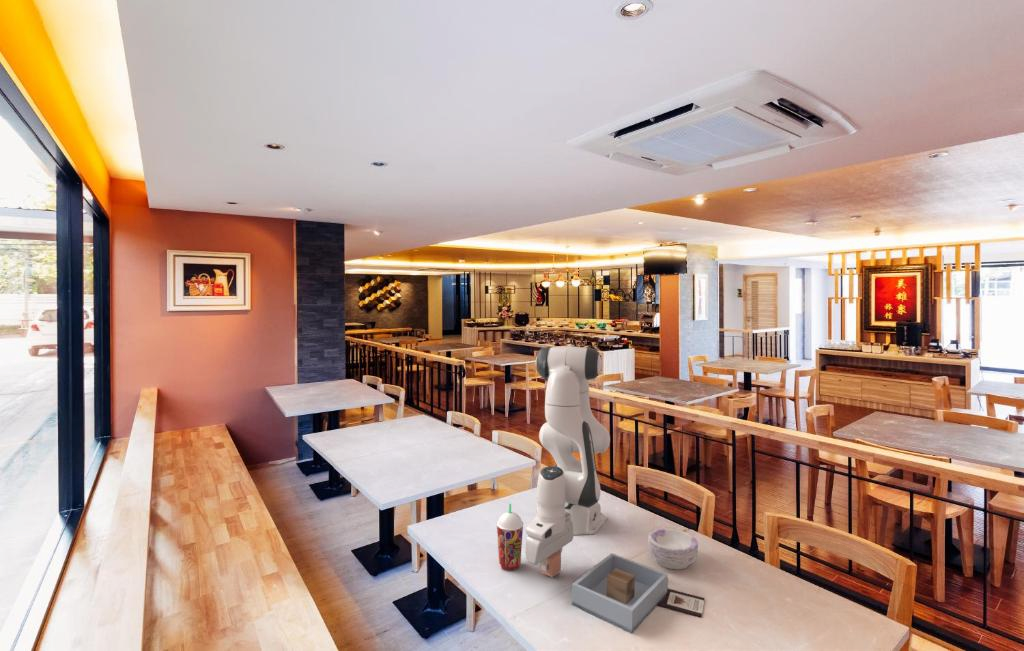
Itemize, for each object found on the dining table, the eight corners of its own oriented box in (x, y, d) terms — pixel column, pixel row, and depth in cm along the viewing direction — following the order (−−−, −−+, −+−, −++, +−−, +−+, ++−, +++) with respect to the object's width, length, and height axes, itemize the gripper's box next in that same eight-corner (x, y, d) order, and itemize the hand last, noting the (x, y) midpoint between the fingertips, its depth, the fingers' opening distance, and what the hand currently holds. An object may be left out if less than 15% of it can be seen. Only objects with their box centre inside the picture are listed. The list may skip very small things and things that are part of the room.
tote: (611, 571, 155) (611, 553, 155) (667, 594, 144) (667, 574, 143) (571, 605, 138) (572, 584, 138) (631, 633, 127) (632, 610, 126)
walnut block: (615, 588, 145) (615, 568, 144) (634, 596, 141) (634, 575, 141) (606, 595, 141) (607, 575, 141) (626, 604, 137) (626, 583, 137)
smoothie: (520, 574, 153) (520, 510, 152) (493, 571, 155) (494, 508, 154) (525, 560, 161) (525, 499, 160) (499, 557, 163) (500, 497, 162)
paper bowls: (653, 546, 171) (654, 523, 171) (700, 557, 164) (701, 533, 164) (642, 567, 158) (643, 542, 158) (693, 580, 151) (694, 555, 150)
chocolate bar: (640, 581, 149) (704, 597, 141) (639, 584, 149) (704, 601, 141) (633, 597, 141) (701, 616, 133) (633, 600, 141) (701, 619, 133)
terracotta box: (548, 565, 157) (549, 548, 156) (560, 570, 154) (561, 553, 153) (540, 571, 153) (540, 554, 153) (552, 577, 150) (552, 559, 150)
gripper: (562, 507, 162) (561, 548, 163) (522, 530, 147) (521, 575, 148) (578, 513, 158) (578, 555, 159) (539, 537, 142) (538, 584, 144)
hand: (550, 565), depth 153 cm, fingers closed on terracotta box, 4 cm apart
